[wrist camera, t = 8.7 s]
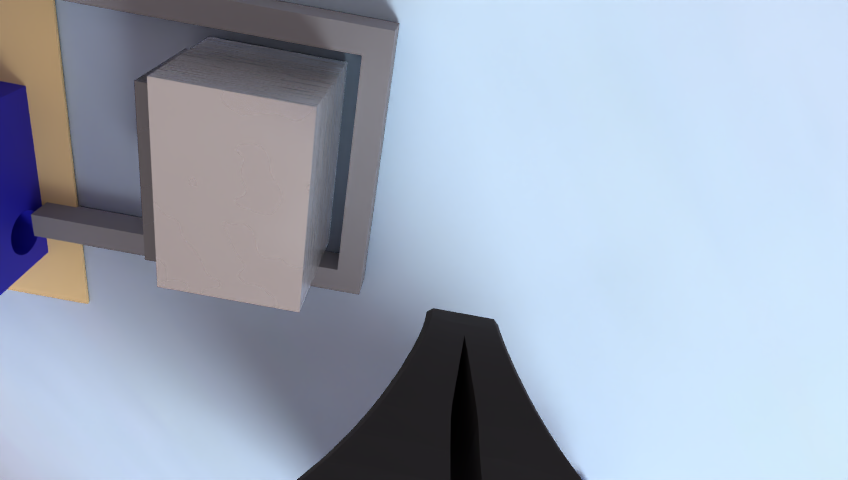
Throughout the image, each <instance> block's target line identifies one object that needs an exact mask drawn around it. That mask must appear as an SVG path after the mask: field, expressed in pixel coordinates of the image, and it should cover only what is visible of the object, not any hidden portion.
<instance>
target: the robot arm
mask: <svg viewBox="0 0 848 480" xmlns="http://www.w3.org/2000/svg"><path fill="white" fill-rule="evenodd" d="M297 480H582V479H581V478H580V476H579V475H578V474H577V473H576V471H575V470H574V468H573V467H572V466H571V464H570V463H569V461H568V460H567V459H566V457H565V456H564V454H563V453H562V451H561V450H560V448H559V447H558V445H557V444H556V442H555V441H554V439H553V438H552V436H551V434H550V433H549V431H548V430H547V428H546V426H545V425H544V423H543V421H542V419H541V418H540V416H539V414H538V413H537V411H536V409H535V407H534V405H533V403H532V402H531V400H530V398H529V396H528V394H527V392H526V390H525V388H524V386H523V384H522V382H521V380H520V378H519V376H518V374H517V372H516V370H515V367H514V365H513V363H512V361H511V358H510V356H509V354H508V351H507V349H506V346H505V344H504V341H503V339H502V336H501V333H500V330H499V327H498V325H497V323H496V322H495V320H494V319H490V318H484V317H479V316H473V315H467V314H462V313H456V312H451V311H445V310H440V309H434V308H433V309H431V310H429V311H427V313H426V318H425V322H424V325H423V327H422V330H421V332H420V335H419V337H418V339H417V341H416V343H415V345H414V347H413V348H412V350H411V352H410V353H409V355H408V357H407V358H406V360H405V362H404V363H403V365H402V367H401V368H400V370H399V371H398V373H397V374H396V376H395V377H394V379H393V380H392V381H391V383H390V384H389V385H388V387H387V388H386V390H385V391H384V392H383V394H382V395H381V396H380V398H379V399H378V400H377V402H376V403H375V404H374V405H373V406H372V408H371V409H370V410H369V411H368V412H367V414H366V415H365V416H364V417H363V418H362V419H361V420H360V422H359V423H358V424H357V425H356V426H355V427H354V428H353V429H352V430H351V431H350V432H349V433H348V434H347V435H346V436H345V437H344V438H343V439H342V440H341V441H340V442H339V443H338V444H337V445H336V446H335V447H334V448H333V449H332V450H331V451H330V452H329V453H328V454H327V455H326V456H325V457H324V458H322V459H321V460H320V461H319V462H318V463H317V464H315V465H314V466H313V467H312V468H310V469H309V470H308V471H307V472H306V473H304V474H303V475H302V476H301V477H300V478H298V479H297Z"/></svg>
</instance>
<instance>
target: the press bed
mask: <svg viewBox="0 0 848 480" xmlns="http://www.w3.org/2000/svg"><path fill="white" fill-rule="evenodd" d="M63 1H69V2H74V3H80V4H85V5H90V6H96V7H101V8H107V9H112V10H117V11H123V12H128V13H134V14H139V15H145V16H150V17H155V18H161V19H166V20H172V21H177V22H183V23H188V24H193V25H199V26H204V27H210V28H215V29H220V30H226V31H231V32H237V33H242V34H248V35H253V36H258V37H264V38H269V39H275V40H280V41H286V42H291V43H296V44H302V45H307V46H313V47H318V48H324V49H329V50H334V51H340V52H345V53H351V54H356V55H361V56H362V59H361V68H360V77H359V86H358V94H357V103H356V112H355V121H354V129H353V138H352V147H351V156H350V164H349V173H348V182H347V191H346V200H345V208H344V217H343V226H342V235H341V243H340V252H339V253H334V252H328V251H325V252H324V254H323V257H322V259H321V262H320V264H319V266H318V269H317V271H316V274H315V276H314V278H313V281H312V283H311V286H314V287H320V288H325V289H331V290H336V291H342V292H347V293H353V294H358V295H359V293H360V290H361V286H362V283H363V280H364V274H365V267H366V260H367V253H368V245H369V238H370V231H371V224H372V217H373V210H374V202H375V195H376V188H377V181H378V174H379V166H380V159H381V152H382V145H383V138H384V131H385V123H386V116H387V109H388V102H389V95H390V87H391V80H392V73H393V66H394V59H395V51H396V44H397V37H398V30H399V23H396V22H391V21H385V20H380V19H375V18H369V17H364V16H358V15H353V14H348V13H342V12H337V11H331V10H326V9H321V8H315V7H310V6H304V5H299V4H294V3H288V2H283V1H277V0H63ZM0 81H3V82H8V83H13V84H19V85H24V86H26V92H27V99H28V106H29V113H30V121H31V128H32V135H33V143H34V150H35V157H36V164H37V172H38V179H39V186H40V194H41V201H42V206H41V207H40V208H39V209H37V210H36V211H35V212H34V213H32V214H31V218H32V224H33V231H34V236H38V237H44V238H47V245H48V253H47V254H46V255H45V256H44V257H43V258H41V259H40V260H39V261H38V262H37V263H36V264H35V265H34V266H32V267H31V268H30V269H29V270H28V271H27V272H26V273H25V274H24V275H22V276H21V277H20V278H19V279H18V280H17V281H16V282H15V283H13V284H12V285H11V286H10V287H9V288H8V290H14V291H19V292H25V293H30V294H36V295H42V296H47V297H53V298H58V299H64V300H69V301H75V302H80V303H86V304H88V303H89V296H88V287H87V278H86V270H85V261H84V252H83V245H88V246H93V247H99V248H104V249H110V250H116V251H121V252H127V253H132V254H138V255H143V256H145V253H144V236H143V219H142V218H141V217H135V216H130V215H124V214H119V213H113V212H108V211H102V210H97V209H91V208H86V207H80V206H78V200H77V191H76V182H75V173H74V165H73V156H72V147H71V138H70V130H69V121H68V112H67V103H66V95H65V86H64V77H63V68H62V60H61V51H60V42H59V33H58V25H57V16H56V7H55V0H0Z"/></svg>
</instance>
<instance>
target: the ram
mask: <svg viewBox="0 0 848 480" xmlns="http://www.w3.org/2000/svg"><path fill="white" fill-rule="evenodd" d="M346 72H347V62H344V61H339V60H333V59H328V58H322V57H317V56H311V55H306V54H301V53H295V52H290V51H284V50H279V49H273V48H268V47H263V46H257V45H252V44H246V43H241V42H235V41H230V40H225V39H219V38H214V37H208V38H206V39H204V40H203V41H201V42H200V43H198V44H197V45H195V46H194V47H192V48H190V49H184V50H183V51H181V52H179V53H178V54H176V55H175V56H173V57H171V58H170V59H168V60H167V61H165V62H163V63H162V64H160V65H159V66H157V67H155V68H154V69H152V70H151V71H149V72H147V73H146V74H144V75H143V76H141V77H140V78H138V79H136V80H135V81H134V86H135V102H136V119H137V136H138V152H139V169H140V186H141V203H142V219H143V236H144V253H145V260H150V261H155V262H156V269H157V287H162V288H167V289H173V290H178V291H184V292H189V293H195V294H200V295H206V296H211V297H217V298H222V299H228V300H233V301H239V302H245V303H250V304H256V305H261V306H267V307H272V308H278V309H283V310H289V311H294V312H300V310H301V307H302V305H303V303H304V300H305V298H306V295H307V293H308V291H309V288H310V286H311V283H312V281H313V278H314V276H315V274H316V271H317V269H318V266H319V264H320V262H321V259H322V257H323V254H324V252H325V249H326V247H327V245H328V242H329V236H330V226H331V217H332V207H333V197H334V188H335V178H336V168H337V159H338V149H339V139H340V130H341V120H342V111H343V101H344V91H345V82H346Z"/></svg>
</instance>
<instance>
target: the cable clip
mask: <svg viewBox="0 0 848 480" xmlns="http://www.w3.org/2000/svg"><path fill="white" fill-rule="evenodd" d="M41 206H42V201H41V194H40V186H39V179H38V172H37V164H36V157H35V150H34V143H33V135H32V128H31V121H30V113H29V106H28V99H27V92H26V86H24V85H19V84H13V83H8V82H3V81H0V295H1V294H2V293H3V292H5V291H6V290H7V289H8V288H9V287H10V286H11V285H12V284H13V283H15V282H16V281H17V280H18V279H19V278H20V277H21V276H22V275H24V274H25V273H26V272H27V271H28V270H29V269H30V268H31V267H32V266H34V265H35V264H36V263H37V262H38V261H39V260H40V259H41V258H43V257H44V256H45V255H46V254H47V253H48V245H47V238H44V237H38V236H34V231H33V224H32V218H31V214H32V213H34V212H35V211H36V210H37V209H39V208H40V207H41Z"/></svg>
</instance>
